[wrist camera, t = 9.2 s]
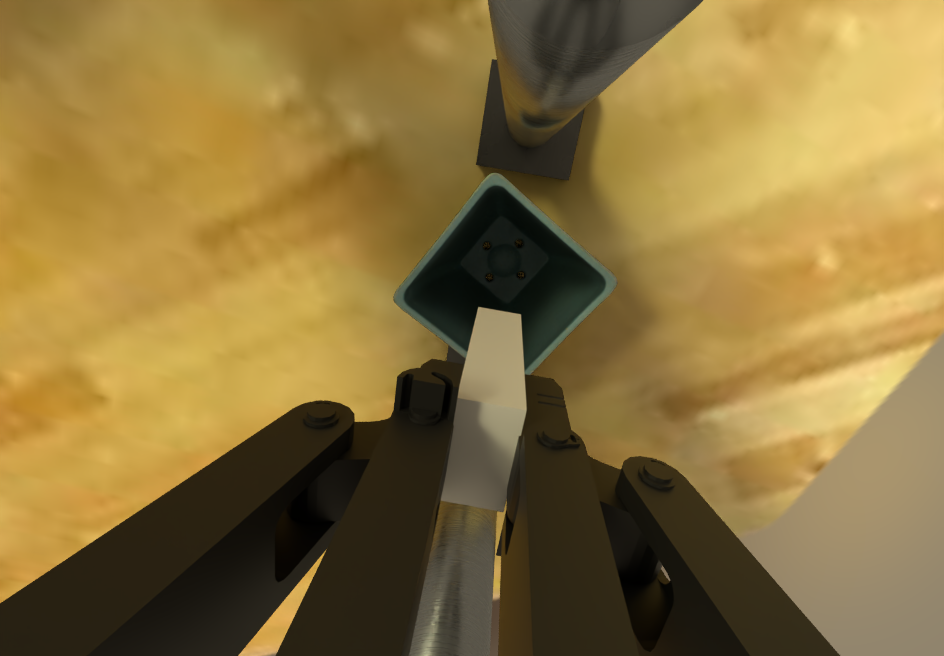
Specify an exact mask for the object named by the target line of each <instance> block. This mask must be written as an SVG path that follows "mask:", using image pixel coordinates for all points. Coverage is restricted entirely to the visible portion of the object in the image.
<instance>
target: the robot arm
mask: <svg viewBox="0 0 944 656" xmlns="http://www.w3.org/2000/svg"><path fill="white" fill-rule="evenodd" d="M506 499H507V510H506V514H505V519H504V523H503V527H502V532H501V536H500V540H499V545H498V549H497V553H496V555H498V556H501V581H500V613H499V645H498V656H840V655H839V654H838V653H837V652H836V651H835V649H834V648H833V647H832V646H831V645H830V644H829V642H828V641H827V640H826V639H825V638H824V637H823V636H822V634H821V633H820V632H819V631H818V630H817V629H816V627H815V626H814V625H813V624H812V623H811V622H810V621H809V620H808V619H807V617H806V616H805V615H804V614H803V613H802V611H801V610H800V609H799V608H798V607H797V606H796V605H795V603H794V602H793V601H792V600H791V599H790V598H789V597H788V595H787V594H786V593H785V592H784V591H783V590H782V588H781V587H780V586H779V585H778V584H777V583H776V582H775V580H774V579H773V578H772V577H771V576H770V575H769V573H768V572H767V571H766V570H765V569H764V568H763V567H762V565H761V564H760V563H759V562H758V561H757V560H756V558H755V557H754V556H753V555H752V554H751V553H750V552H749V550H748V549H747V548H746V547H745V546H744V545H743V544H742V542H741V541H740V540H739V539H738V538H737V537H736V535H735V534H734V533H733V532H732V531H731V530H730V529H729V527H728V526H727V525H726V524H725V523H724V522H723V521H722V519H721V518H720V517H719V516H718V515H717V514H716V512H715V511H714V510H713V509H712V508H711V507H710V506H709V504H708V503H707V502H706V501H705V500H704V499H703V498H702V496H701V495H700V494H699V493H698V492H697V491H696V489H695V488H694V487H693V486H692V485H691V484H690V483H689V481H688V480H687V479H686V478H685V477H684V476H683V475H682V474H680V473H679V472H678V471H677V470H676V469H674V468H672V467H671V466H669V465H667V464H666V463H664V462H662V461H660V460H659V461H658V460H657V459H653V458H647V457H641V456H638V457H630V458H628V459H627V460H625V461H624V463H623V466H622V469H621V470H620V469H617V468H614V467H612V466H609V465H607V464H604V463H602V462H599V461H597V460H595V459H593V458H592V457H590V456H588V455H587V451H586V447H585V444H584V442H583V441H582V439H581V438H580V437H579V436H578V435H577V434H576V433H575V432H573V431H572V430H571V427H570V423H569V418H568V414H567V409H566V405H565V401H564V396H563V392H562V388H561V387H560V386H559V385H558V384H557V383H556V382H555V381H554V380H553V379H550V378H544V377H539V376H533V375H528V374H524V357H523V341H522V324H521V314H516V313H510V312H504V311H499V310H493V309H487V308H482V307H478V311H477V315H476V319H475V323H474V327H473V332H472V336H471V340H470V344H469V348H468V352H467V356H466V361H465V365H464V364H459V363H453V362H448V361H442V360H437V359H431V360H429V361H428V362H426V363H424V364H423V365H422V366H421V368H415V369H409V370H406V371H404V372H402V373H401V374H400V375H399V376H398V377H397V385H396V394H395V403H394V411H393V413H392V415H391V417H390V418H388V419H385V420H381V421H374V422H355V419H354V413H353V412H352V411H351V409H350V408H349V407H347V406H345V405H343V404H341V403H336V402H331V401H323V400H322V401H313V402H308V403H304V404H302V405H299V406H297V407H295V408H293V409H292V410H290V411H289V412H287V413H286V414H284V415H283V416H281V417H280V418H278V419H277V420H275V421H274V422H272V423H271V424H269V425H268V426H266V427H265V428H263V429H262V430H260V431H259V432H257V433H256V434H254V435H253V436H251V437H250V438H248V439H247V440H245V441H244V442H242V443H241V444H239V445H238V446H236V447H235V448H233V449H232V450H230V451H229V452H227V453H226V454H224V455H223V456H221V457H220V458H218V459H217V460H215V461H214V462H212V463H211V464H209V465H208V466H206V467H205V468H203V469H202V470H200V471H199V472H197V473H196V474H194V475H193V476H191V477H190V478H188V479H187V480H185V481H184V482H182V483H181V484H179V485H178V486H176V487H175V488H173V489H172V490H170V491H168V492H167V493H165V494H164V495H162V496H161V497H159V498H158V499H156V500H155V501H153V502H152V503H150V504H149V505H147V506H146V507H144V508H143V509H141V510H140V511H138V512H137V513H135V514H134V515H132V516H131V517H129V518H128V519H126V520H125V521H123V522H122V523H120V524H119V525H117V526H116V527H114V528H113V529H111V530H110V531H108V532H107V533H105V534H104V535H102V536H101V537H99V538H98V539H96V540H95V541H93V542H92V543H90V544H89V545H87V546H86V547H84V548H83V549H81V550H80V551H78V552H77V553H75V554H74V555H72V556H71V557H69V558H68V559H66V560H65V561H63V562H62V563H60V564H59V565H57V566H56V567H54V568H53V569H51V570H50V571H48V572H47V573H45V574H44V575H42V576H41V577H39V578H38V579H36V580H35V581H33V582H32V583H30V584H29V585H27V586H26V587H24V588H23V589H21V590H20V591H18V592H17V593H15V594H14V595H12V596H11V597H9V598H8V599H6V600H5V601H3V602H2V603H0V656H238V655H239V654H240V653H241V652H242V650H243V649H244V648H245V647H246V645H247V644H248V643H249V642H250V641H251V639H252V638H253V637H254V636H255V635H256V633H257V632H258V631H259V630H260V629H261V627H262V626H263V625H264V624H265V623H266V621H267V620H268V619H269V618H270V617H271V615H272V614H273V613H274V612H275V611H276V609H277V608H278V607H279V606H280V605H281V603H282V602H283V601H284V600H285V598H286V597H287V596H288V595H289V594H290V592H291V591H292V590H293V589H294V588H295V586H296V585H297V584H298V583H299V582H300V580H301V579H302V578H303V577H304V576H305V574H306V573H307V572H308V571H309V570H310V568H311V567H312V566H313V565H314V564H315V562H316V561H317V560H318V559H319V557H320V556H321V555H322V554H323V553H324V551H325V550H326V549H327V550H326V552H325V554H324V556H323V558H322V561H321V563H320V565H319V567H318V569H317V571H316V573H315V575H314V577H313V579H312V581H311V583H310V586H309V588H308V590H307V592H306V594H305V596H304V598H303V600H302V602H301V604H300V606H299V608H298V610H297V613H296V615H295V617H294V619H293V621H292V623H291V625H290V627H289V629H288V631H287V633H286V635H285V638H284V640H283V642H282V644H281V646H280V648H279V650H278V652H277V654H276V656H409V653H410V648H411V644H412V639H413V634H414V629H415V624H416V620H417V615H418V610H419V605H420V600H421V596H422V591H423V586H424V581H425V576H426V572H427V567H428V562H429V557H430V552H431V547H432V543H433V538H434V533H435V528H436V523H437V519H438V513H439V507H440V501H446V502H452V503H457V504H462V505H468V506H473V507H478V508H484V509H489V510H494V511H500V512H504V507H505V503H506ZM662 565H663V567H664V568H665V570H666V572H667V573H668V575H669V578H670V580H671V581H669V580H668V579H667V578H666V576H665V575H664V573H663V572H662V570H661V567H662Z"/></svg>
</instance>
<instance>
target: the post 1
mask: <svg viewBox="0 0 944 656" xmlns="http://www.w3.org/2000/svg"><path fill="white" fill-rule="evenodd" d="M447 361H448V362H453V363H459V364H464V365H465V361H466V358H464V357H463V356H462V355H460V354H459V353H458V352H457V351H455V350H454V349H453V348H452V347H450V346H449V348H448V354H447ZM496 521H497V511H494V510H489V509H484V508H478V507H473V506H468V505H462V504H457V503H452V502H446V501H440V507H439V513H438V519H437V523H436V528H435V533H434V538H433V543H432V547H431V552H430V557H429V562H428V567H427V572H426V576H425V581H424V586H423V591H422V596H421V600H420V605H419V610H418V615H417V620H416V624H415V629H414V634H413V639H412V644H411V648H410V653H409V656H489V655H490V636H491V617H492V598H493V579H494V559H495V540H496Z"/></svg>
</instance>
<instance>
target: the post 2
mask: <svg viewBox="0 0 944 656" xmlns="http://www.w3.org/2000/svg"><path fill="white" fill-rule="evenodd" d="M702 1H703V0H488V5H489V11H490V18H491V24H492V30H493V37H494V43H495V49H496V56H497V60H493V59H492V63H491V70H490V77H489V83H488V90H487V96H486V103H485V110H484V116H483V123H482V130H481V136H480V143H479V149H478V156H477V163H476V165H480V166H486V167H492V168H498V169H504V170H510V171H516V172H521V173H527V174H533V175H539V176H545V177H551V178H557V179H563V180H569V177H570V172H571V168H572V163H573V159H574V154H575V149H576V145H577V140H578V136H579V131H580V127H581V122H582V118H583V113H584V109H585V107H586V106H587V105H588V104H589V103H590V102H591V101H593V100H594V99H595V98H596V97H597V96H598V95H599V94H600V93H601V92H603V91H604V90H605V89H606V88H607V87H608V86H609V85H610V84H611V83H613V82H614V81H615V80H616V79H617V78H618V77H619V76H620V75H621V74H623V73H624V72H625V71H626V70H627V69H628V68H629V67H630V66H632V65H633V64H634V63H635V62H636V61H637V60H638V59H639V58H640V57H642V56H643V55H644V54H645V53H646V52H647V51H648V50H649V49H650V48H652V47H653V46H654V45H655V44H656V43H657V42H658V41H659V40H660V39H662V38H663V37H664V36H665V35H666V34H667V33H668V32H669V31H670V30H672V29H673V28H674V27H675V26H676V25H677V24H678V23H679V22H681V21H682V20H683V19H684V18H685V17H686V16H687V15H688V14H689V13H691V12H692V11H693V10H694V9H695V8H696V7H697V6H698V5H699V4H700V3H701V2H702Z"/></svg>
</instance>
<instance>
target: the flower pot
mask: <svg viewBox="0 0 944 656" xmlns="http://www.w3.org/2000/svg"><path fill="white" fill-rule="evenodd" d="M516 240H521V241H522V246H520V247H517V246H516V245H515V242H516ZM485 242H489V243H490V248H489V249H488V250H487V249H484V247H483V244H484V243H485ZM518 272H524V277H523V278H518V276H517V275H518ZM487 274H492V275H493V279H492V280H491V281H488V280H487V279H486V275H487ZM616 286H617V278H616V277H615V276H614V274H613V273H612V272H611V271H610V270H609V269H607V268H606V267H605V266H604V265H602V264H601V263H600V262H599V261H598V260H597V259H595V258H594V257H593V256H592V255H591V254H590V253H588V252H587V251H586V250H585V249H584V248H583V247H582V246H580V245H579V244H578V243H577V242H576V241H575V240H574V239H573V238H571V237H570V236H569V235H568V234H567V233H566V232H564V230H562V229H561V228H560V227H559V226H558V225H557V224H556V223H555V222H554V221H552V220H551V219H550V218H549V217H548V216H547V215H545V214H544V213H543V212H542V211H541V210H540V209H539V208H538V207H537V206H536V205H534V204H533V203H532V202H531V201H530V200H529V199H528V198H527V197H526V196H525V195H523V194H522V193H521V192H520V191H519V190H518V189H517V188H516V187H515V186H514V185H513V184H512V183H510V182H509V181H508V180H507V179H506V178H505V177H504V176H502V175H501V174H499V173H491V174H490V175H488V176H487V177H486V178H485V179H484V180H483V181H482V183H481V184H480V185H479V187H478V188H477V189H476V191H475V192H474V193H473V194H472V196H471V197H470V199H469V200H468V201H467V202H466V204H465V205H464V206H463V208H462V209H461V210H460V212H459V213H458V214H457V215H456V217H455V218H454V219H453V220H452V222H451V223H450V224H449V226H448V227H447V228H446V229H445V231H444V232H443V233H442V235H441V236H440V237H439V238H438V240H437V241H436V242H435V243H434V245H433V246H432V247H431V248H430V249H429V251H428V252H427V253H426V254H425V256H424V257H423V258H422V259H421V261H420V262H419V263H418V264H417V266H416V267H415V268H414V269H413V270H412V272H411V273H410V274H409V276H408V277H407V278H406V279H405V280H404V282H403V283H402V284H401V285H400V286H399V288H398V289H397V290H396V292H395V294H394V297H393V298H394V302H395V303H396V304H397V305H398V306H399V307H400V308H401V309H402V310H403V311H405V312H406V313H408V314H409V315H410V316H411V317H413V318H414V319H415V320H417V321H418V322H419V323H421V324H422V325H423V326H424V327H426V328H427V329H429V330H430V331H431V332H433V333H434V334H435V335H436V336H438V337H439V338H440V339H442V340H443V341H444V342H445V343H447V344H448V345H449V346H450V347H452V348H453V349H454V350H455V351H457V352H458V353H459V354H460V355H462V356H463V357H464V358H466V356H467V352H468V348H469V344H470V340H471V336H472V332H473V327H474V323H475V319H476V315H477V311H478V307H482V308H487V309H493V310H499V311H504V312H510V313H516V314H521V324H522V341H523V357H524V374H528V375H530V374H531V373H532V372H533V371H534V370H535V369H536V368H537V367H538V366H539V365H540V364H541V363H542V362H543V361H544V360H545V359H546V358H547V357H548V356H549V355H550V354H551V352H552V351H554V349H555V348H557V346H558V345H559V344H561V343H562V341H563V340H564V339H565V338H566V337H567V336H568V335H569V334H570V333H571V332H572V331H573V330H574V329H575V328H576V327H577V326H578V325H579V324H580V323H581V322H582V321H583V320H584V319H585V318H586V317H587V316H588V315H589V314H590V313H591V312H592V311H593V310H594V309H595V308H597V306H598V305H599V304H600V303H602V302H603V301H604V300H605V299H606V298H607V297H608V296H609V295H610V294H611V293H612V291H613V290H614V289H615V287H616Z"/></svg>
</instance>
